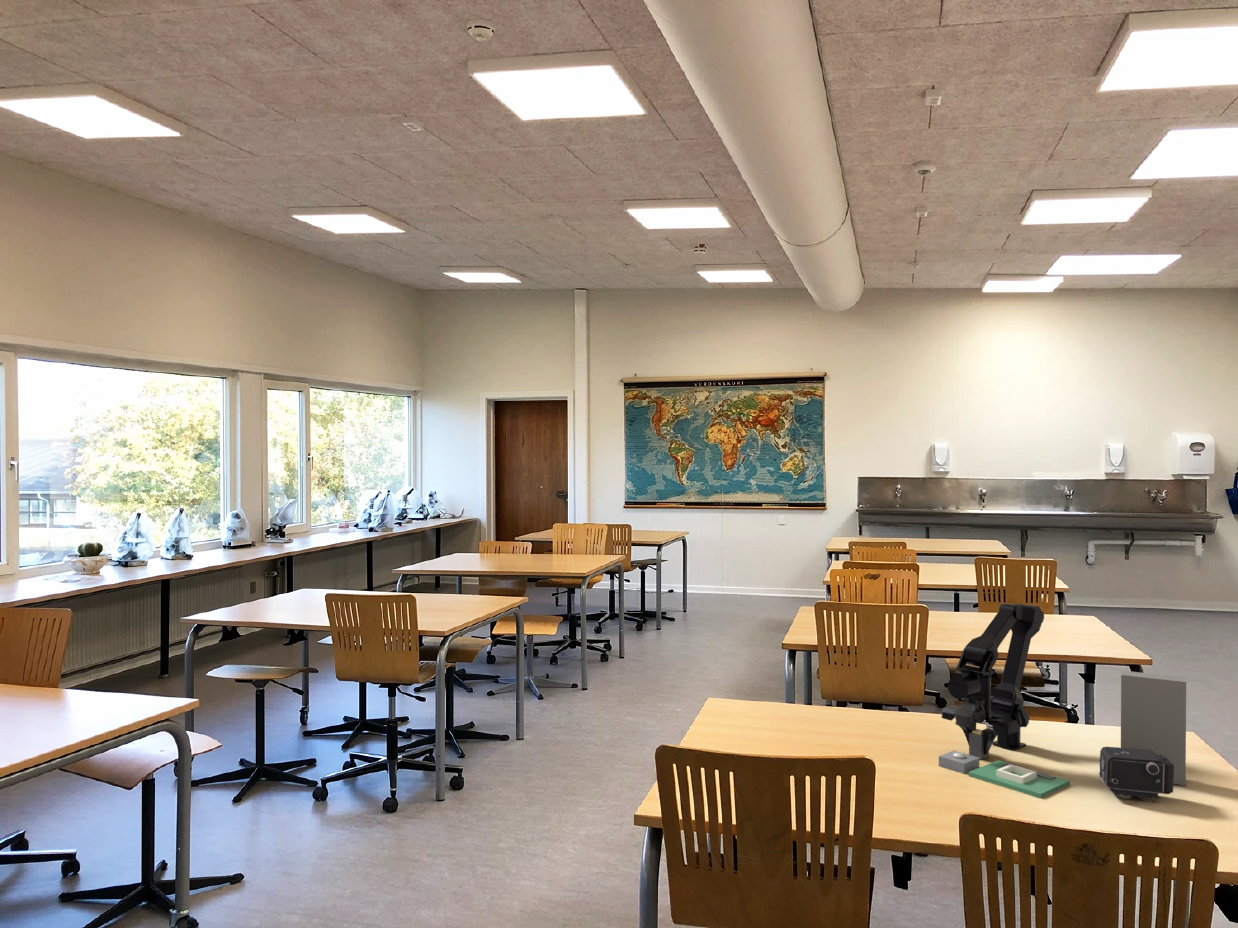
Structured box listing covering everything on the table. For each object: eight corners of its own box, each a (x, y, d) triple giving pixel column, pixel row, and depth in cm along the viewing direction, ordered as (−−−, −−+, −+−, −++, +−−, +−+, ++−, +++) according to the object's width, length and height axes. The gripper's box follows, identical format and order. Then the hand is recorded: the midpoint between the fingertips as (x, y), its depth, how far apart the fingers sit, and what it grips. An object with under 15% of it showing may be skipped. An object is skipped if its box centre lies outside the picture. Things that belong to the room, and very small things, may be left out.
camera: (1110, 807, 202) (1181, 807, 199) (1105, 759, 202) (1176, 758, 199) (1097, 790, 212) (1166, 790, 209) (1093, 744, 212) (1161, 743, 209)
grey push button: (954, 759, 230) (954, 748, 230) (979, 767, 225) (979, 755, 225) (938, 765, 226) (938, 753, 226) (964, 773, 221) (964, 761, 221)
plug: (976, 752, 235) (976, 727, 235) (988, 756, 233) (988, 731, 233) (969, 755, 233) (969, 730, 233) (981, 759, 231) (981, 733, 230)
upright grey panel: (1185, 778, 217) (1186, 676, 217) (1186, 786, 212) (1187, 682, 212) (1120, 768, 224) (1121, 669, 224) (1119, 775, 219) (1120, 674, 219)
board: (998, 763, 228) (998, 753, 228) (1069, 784, 213) (1069, 774, 213) (968, 775, 219) (968, 765, 219) (1040, 798, 205) (1040, 787, 205)
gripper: (929, 690, 235) (929, 748, 235) (996, 705, 221) (996, 768, 221) (953, 683, 242) (953, 740, 242) (1019, 698, 227) (1019, 759, 227)
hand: (978, 751), depth 233 cm, fingers closed on plug, 3 cm apart
